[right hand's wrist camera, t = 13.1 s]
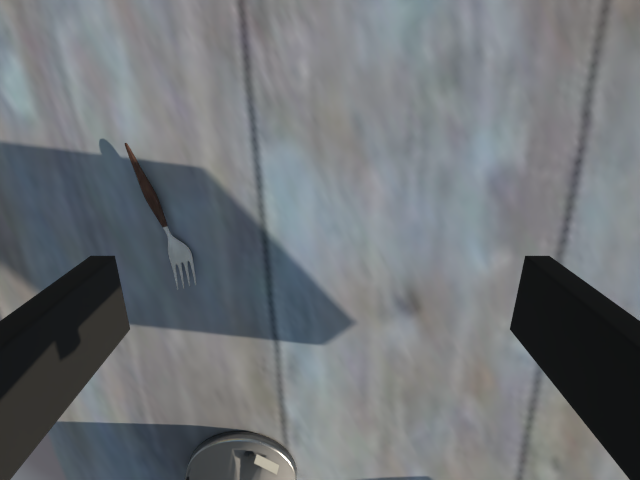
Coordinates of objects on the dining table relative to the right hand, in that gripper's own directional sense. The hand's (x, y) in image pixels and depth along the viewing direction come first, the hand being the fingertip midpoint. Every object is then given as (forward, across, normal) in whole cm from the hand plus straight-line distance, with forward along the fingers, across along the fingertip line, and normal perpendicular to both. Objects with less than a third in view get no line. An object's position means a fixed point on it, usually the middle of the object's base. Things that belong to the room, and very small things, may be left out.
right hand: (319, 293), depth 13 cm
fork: (+28, +17, +6) cm, 34 cm away
